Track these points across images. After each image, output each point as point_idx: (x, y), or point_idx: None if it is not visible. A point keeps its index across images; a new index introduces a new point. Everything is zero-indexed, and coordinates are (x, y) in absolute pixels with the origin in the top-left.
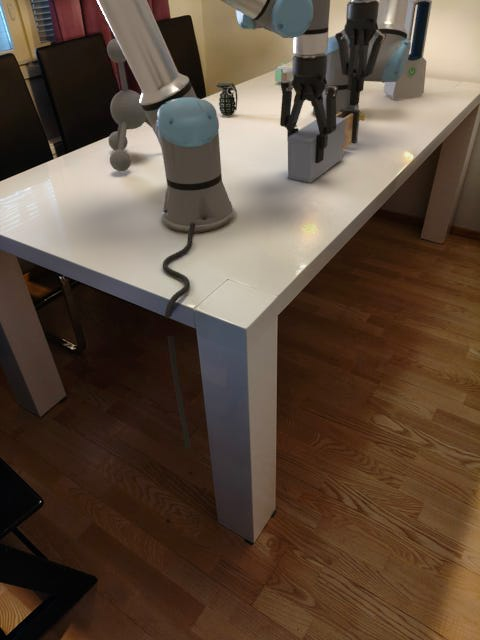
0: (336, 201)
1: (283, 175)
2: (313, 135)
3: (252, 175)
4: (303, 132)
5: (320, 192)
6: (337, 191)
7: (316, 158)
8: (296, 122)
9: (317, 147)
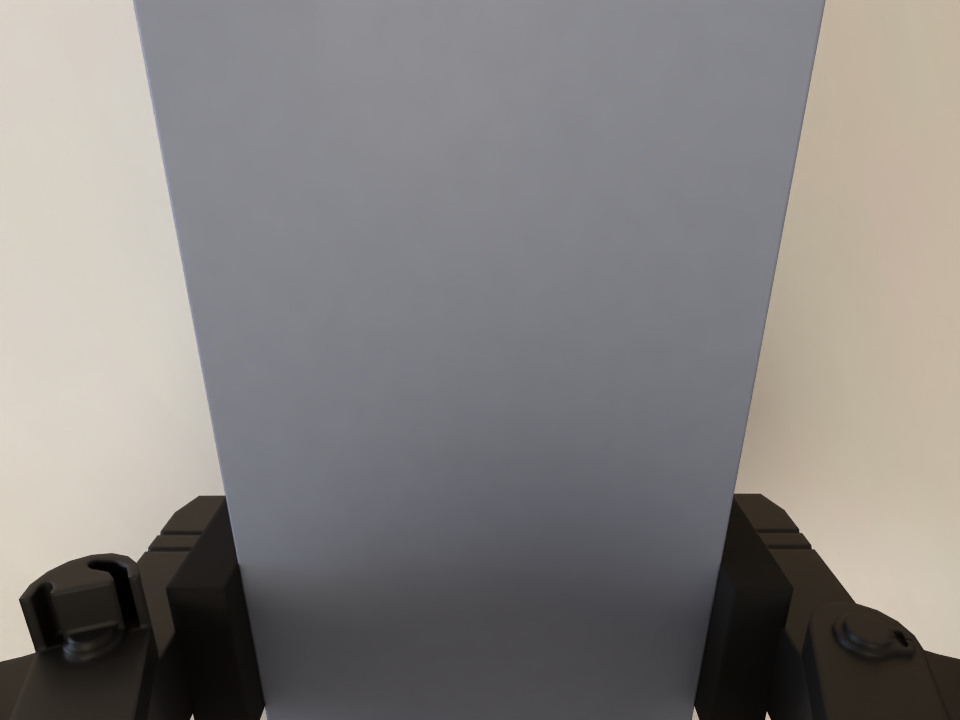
0: None
1: None
2: (604, 648)
3: (108, 540)
4: (378, 608)
5: None
6: (828, 497)
7: None
8: (141, 713)
9: None
